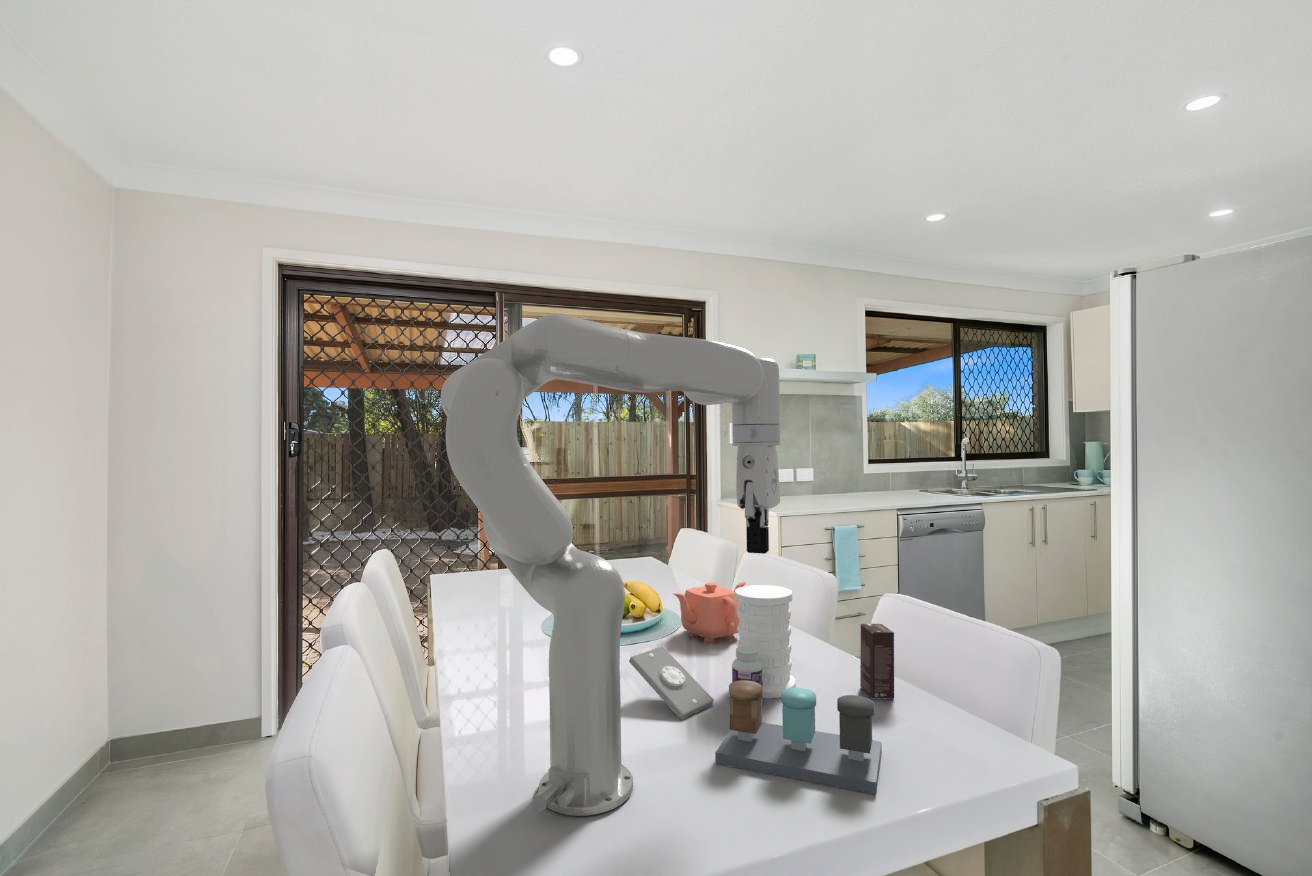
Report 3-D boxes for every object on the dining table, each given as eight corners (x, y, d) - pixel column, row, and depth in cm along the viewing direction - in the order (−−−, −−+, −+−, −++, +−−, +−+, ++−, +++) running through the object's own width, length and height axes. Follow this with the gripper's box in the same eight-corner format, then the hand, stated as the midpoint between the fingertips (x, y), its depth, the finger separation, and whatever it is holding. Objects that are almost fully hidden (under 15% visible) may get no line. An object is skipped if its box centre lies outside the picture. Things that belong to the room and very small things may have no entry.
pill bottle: (738, 711, 108) (737, 655, 108) (728, 699, 113) (727, 645, 113) (767, 708, 109) (766, 652, 109) (756, 696, 114) (755, 643, 114)
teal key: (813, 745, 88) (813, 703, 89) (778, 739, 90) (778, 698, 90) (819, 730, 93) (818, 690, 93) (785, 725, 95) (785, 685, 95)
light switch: (685, 711, 104) (631, 652, 113) (673, 737, 106) (621, 677, 115) (717, 696, 110) (664, 641, 119) (705, 720, 112) (653, 665, 121)
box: (896, 699, 112) (895, 632, 112) (871, 700, 112) (870, 632, 112) (883, 686, 118) (881, 622, 118) (859, 687, 118) (858, 623, 118)
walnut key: (758, 736, 92) (757, 695, 92) (725, 730, 94) (724, 690, 94) (766, 722, 96) (765, 682, 96) (734, 716, 98) (734, 678, 98)
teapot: (673, 644, 145) (672, 589, 145) (688, 624, 161) (688, 575, 161) (737, 649, 141) (736, 593, 141) (747, 628, 156) (746, 577, 157)
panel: (876, 794, 82) (875, 745, 82) (715, 763, 90) (714, 719, 91) (881, 752, 93) (880, 709, 93) (737, 728, 102) (737, 688, 102)
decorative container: (754, 702, 111) (752, 601, 112) (723, 680, 122) (722, 588, 122) (808, 692, 116) (806, 594, 116) (774, 671, 127) (772, 582, 127)
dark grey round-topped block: (873, 755, 85) (872, 711, 85) (835, 749, 87) (835, 706, 87) (876, 739, 90) (875, 698, 90) (840, 734, 92) (839, 693, 92)
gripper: (768, 436, 91) (770, 562, 91) (789, 436, 105) (790, 546, 105) (719, 436, 94) (721, 559, 94) (745, 437, 108) (747, 544, 108)
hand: (757, 552), depth 99 cm, fingers closed
